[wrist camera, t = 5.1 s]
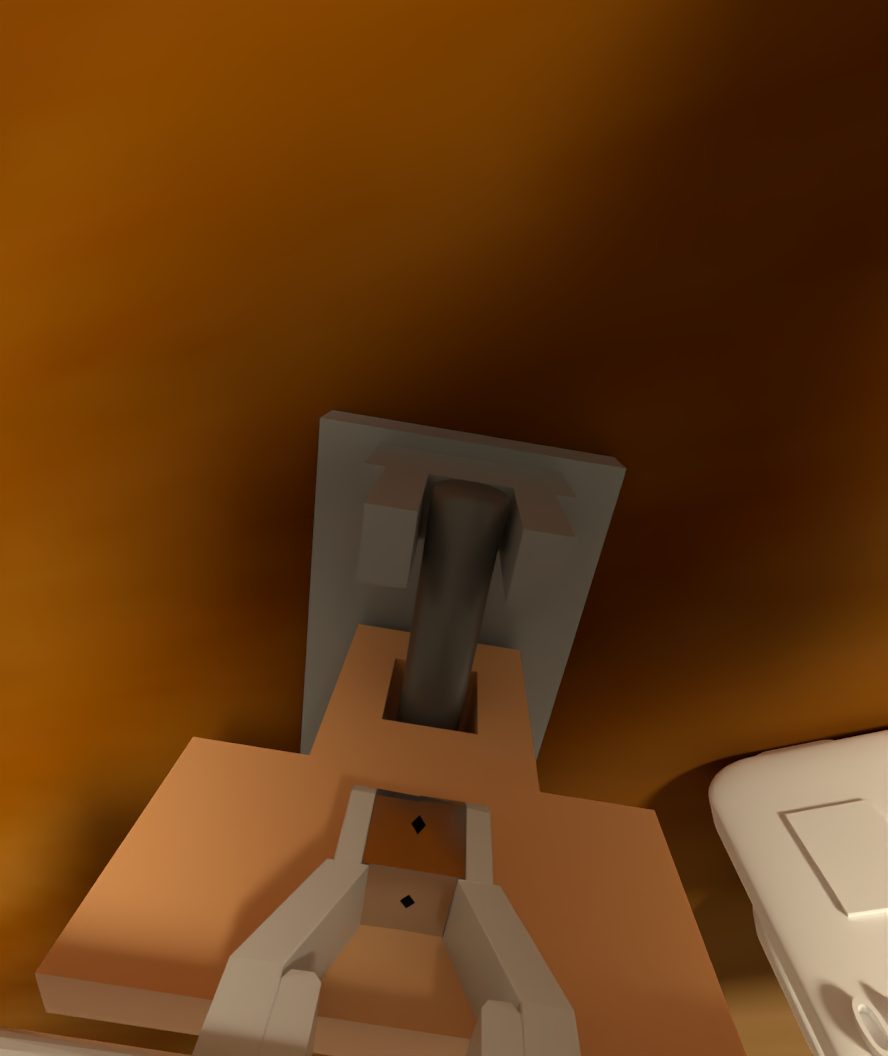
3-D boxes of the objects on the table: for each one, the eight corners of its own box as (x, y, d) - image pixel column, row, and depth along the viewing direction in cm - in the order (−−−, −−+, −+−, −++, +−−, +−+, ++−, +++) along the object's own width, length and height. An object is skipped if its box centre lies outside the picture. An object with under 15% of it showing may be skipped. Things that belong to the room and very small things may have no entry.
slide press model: (332, 409, 17) (245, 464, 11) (614, 457, 17) (701, 540, 11) (301, 859, 27) (244, 1039, 20) (486, 888, 27) (490, 1076, 20)
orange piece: (277, 610, 18) (35, 972, 8) (599, 663, 18) (756, 1082, 8) (273, 733, 21) (81, 1134, 10) (559, 779, 21) (643, 1218, 11)
